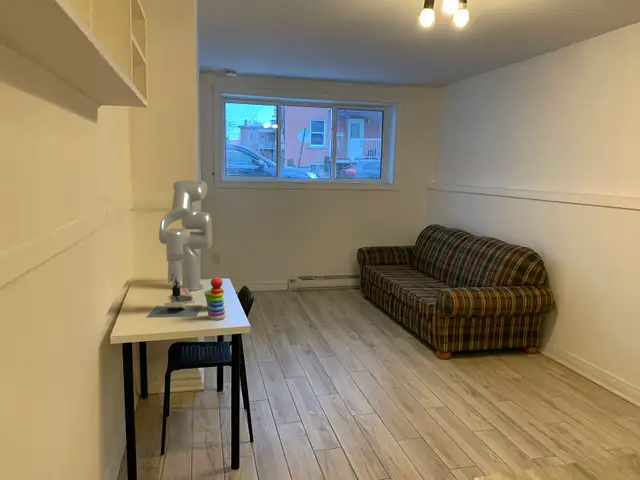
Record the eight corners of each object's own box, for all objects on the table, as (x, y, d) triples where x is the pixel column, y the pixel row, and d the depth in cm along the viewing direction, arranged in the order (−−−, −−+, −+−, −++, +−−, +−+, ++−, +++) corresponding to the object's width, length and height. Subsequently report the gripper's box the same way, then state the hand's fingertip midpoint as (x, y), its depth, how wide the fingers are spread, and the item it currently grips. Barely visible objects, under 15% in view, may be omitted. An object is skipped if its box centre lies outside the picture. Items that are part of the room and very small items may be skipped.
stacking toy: (208, 321, 209) (207, 279, 207) (205, 316, 217) (204, 275, 214) (227, 319, 212) (226, 278, 210) (223, 314, 220) (222, 274, 217)
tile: (168, 305, 226) (164, 303, 219) (185, 304, 227) (182, 302, 220) (168, 309, 226) (164, 307, 218) (185, 309, 227) (182, 307, 219)
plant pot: (203, 307, 230) (202, 290, 229) (222, 305, 234) (222, 288, 232) (205, 313, 222) (205, 294, 220) (226, 311, 225) (225, 293, 224)
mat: (155, 306, 231) (155, 306, 231) (202, 305, 233) (202, 305, 233) (146, 318, 214) (146, 317, 213) (196, 317, 216) (196, 316, 216)
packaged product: (170, 288, 250) (190, 286, 253) (171, 297, 251) (190, 295, 254) (173, 296, 233) (194, 294, 237) (174, 306, 234) (195, 304, 238)
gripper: (170, 254, 230) (171, 291, 233) (163, 260, 215) (164, 300, 218) (186, 254, 231) (187, 291, 233) (180, 260, 216) (181, 299, 219)
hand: (176, 295), depth 226 cm, fingers closed
